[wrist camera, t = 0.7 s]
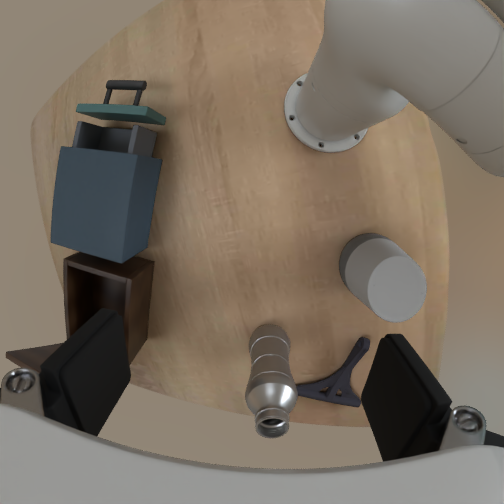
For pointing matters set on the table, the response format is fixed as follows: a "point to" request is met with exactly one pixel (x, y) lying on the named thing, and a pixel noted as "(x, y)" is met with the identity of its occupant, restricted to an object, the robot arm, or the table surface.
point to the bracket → (338, 380)
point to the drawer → (116, 138)
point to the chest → (109, 294)
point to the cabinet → (104, 202)
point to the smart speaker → (383, 277)
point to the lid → (32, 356)
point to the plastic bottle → (270, 381)
